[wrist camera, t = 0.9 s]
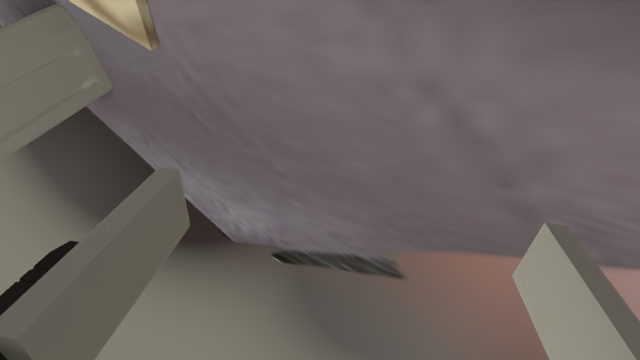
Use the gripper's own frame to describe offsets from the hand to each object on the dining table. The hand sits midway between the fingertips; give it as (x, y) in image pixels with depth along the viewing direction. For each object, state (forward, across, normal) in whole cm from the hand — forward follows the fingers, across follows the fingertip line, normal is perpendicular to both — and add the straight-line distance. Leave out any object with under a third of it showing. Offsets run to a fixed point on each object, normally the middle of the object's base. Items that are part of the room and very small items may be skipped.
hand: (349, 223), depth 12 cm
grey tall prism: (+51, -55, -11) cm, 76 cm away
